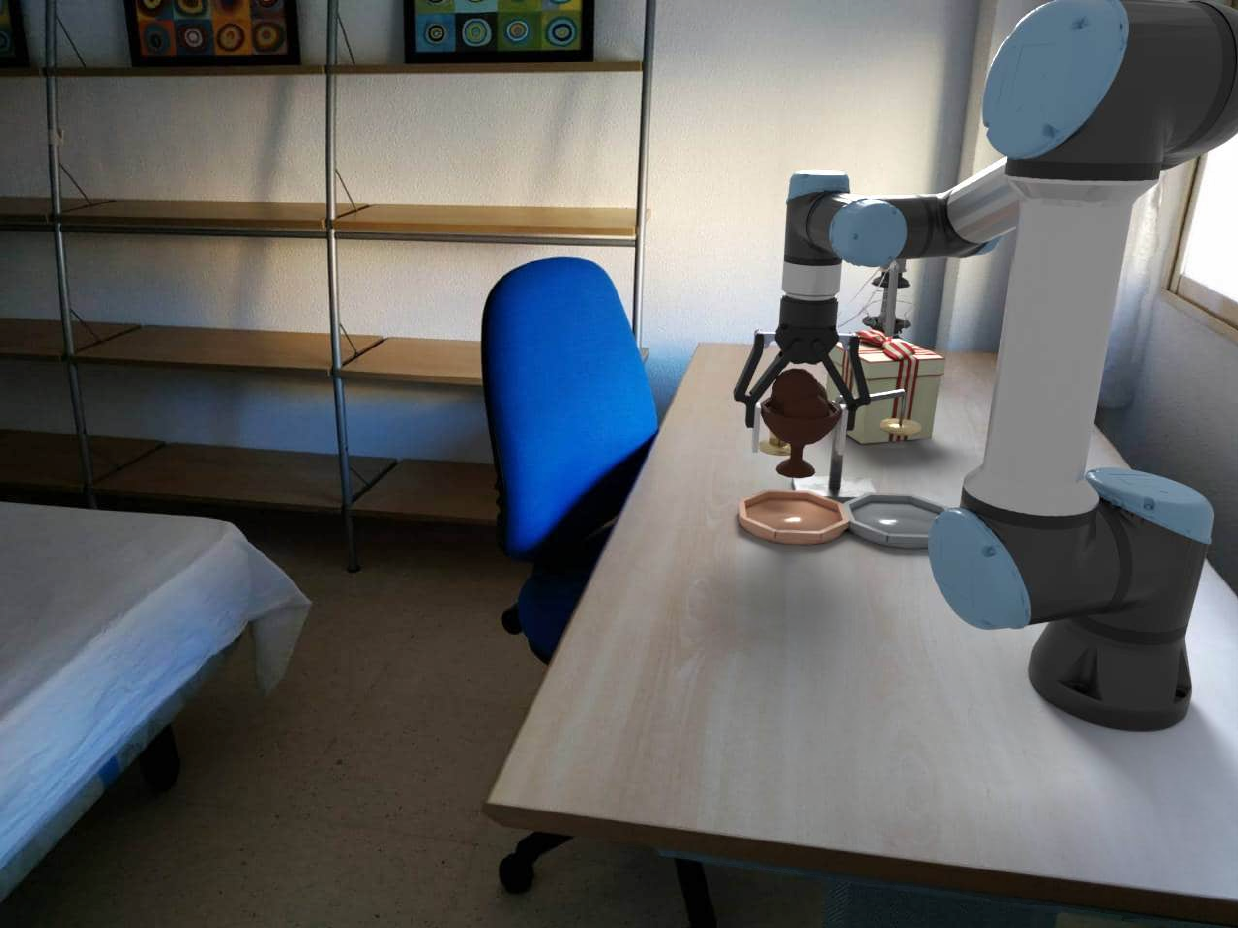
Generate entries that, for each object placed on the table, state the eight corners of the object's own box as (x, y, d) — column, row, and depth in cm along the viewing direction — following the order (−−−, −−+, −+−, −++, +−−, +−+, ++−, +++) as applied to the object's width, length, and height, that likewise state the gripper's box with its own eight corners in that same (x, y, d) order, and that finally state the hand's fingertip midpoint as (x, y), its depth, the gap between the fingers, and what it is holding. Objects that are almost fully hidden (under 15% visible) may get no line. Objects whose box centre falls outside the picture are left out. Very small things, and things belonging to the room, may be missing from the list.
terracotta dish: (853, 546, 132) (854, 534, 132) (741, 543, 133) (742, 531, 133) (837, 502, 146) (838, 491, 146) (736, 499, 147) (737, 488, 147)
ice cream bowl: (835, 488, 131) (846, 381, 126) (752, 481, 133) (759, 375, 128) (835, 460, 141) (845, 359, 135) (757, 454, 143) (764, 354, 137)
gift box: (952, 436, 174) (965, 342, 168) (865, 449, 168) (875, 351, 162) (894, 408, 189) (904, 321, 183) (812, 419, 183) (819, 328, 177)
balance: (917, 506, 145) (931, 398, 139) (758, 501, 147) (764, 394, 140) (906, 485, 153) (919, 382, 147) (754, 481, 154) (760, 378, 148)
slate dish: (965, 550, 132) (967, 538, 131) (853, 546, 132) (854, 534, 132) (938, 505, 146) (940, 494, 145) (837, 502, 146) (838, 491, 146)
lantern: (816, 359, 222) (827, 225, 211) (898, 356, 225) (914, 223, 215) (847, 382, 206) (861, 237, 195) (936, 378, 209) (954, 235, 198)
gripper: (895, 290, 131) (877, 443, 139) (718, 286, 132) (711, 438, 140) (906, 302, 124) (887, 463, 132) (720, 297, 125) (713, 457, 133)
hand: (797, 450), depth 136 cm, fingers closed on ice cream bowl, 11 cm apart
